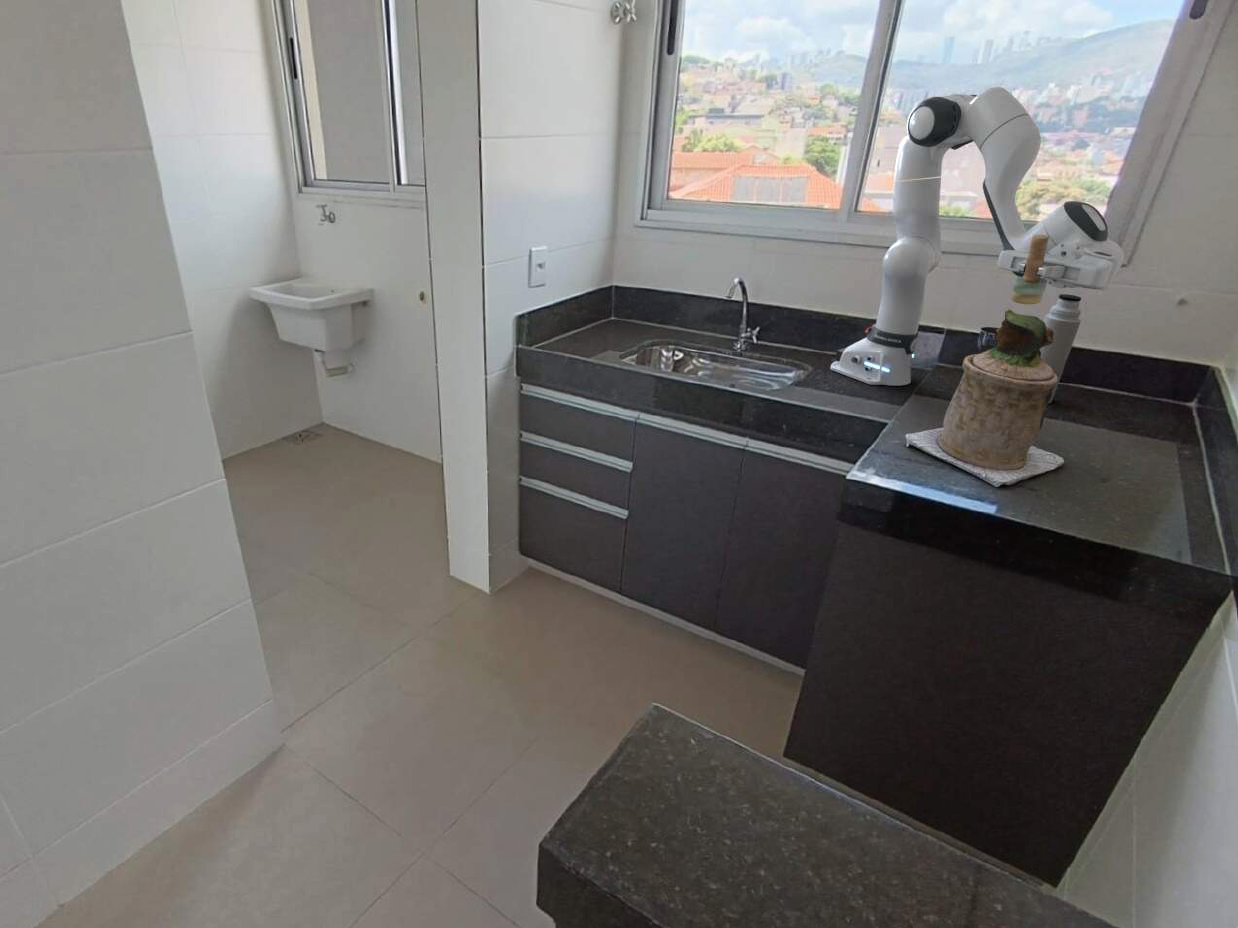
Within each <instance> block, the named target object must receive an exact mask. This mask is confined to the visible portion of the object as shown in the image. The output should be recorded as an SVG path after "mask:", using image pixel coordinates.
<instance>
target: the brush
mask: <svg viewBox="0 0 1238 928" xmlns="http://www.w3.org/2000/svg"><path fill="white" fill-rule="evenodd" d="M1048 240H1049V236H1046V235H1034V236H1033V237H1032V240H1031V245H1030V250H1029V254H1028V259H1027V263H1026V268H1025V272H1024V276H1023V277H1018V276H1017V277H1016V278H1015V279H1014V282H1013V287H1012V291H1013V292H1012V296H1011V301H1012V302H1014V303H1017V304H1020V305H1037V304H1040V303H1041V302H1042V300H1043V296H1044V293H1045V292H1046V289H1047V284H1048V283H1047V280H1046V279H1044V277H1040V276H1037V272H1038V269H1039V267H1040V266H1043V262H1044V257H1045V253H1046V249H1047V244H1048Z"/></svg>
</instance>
